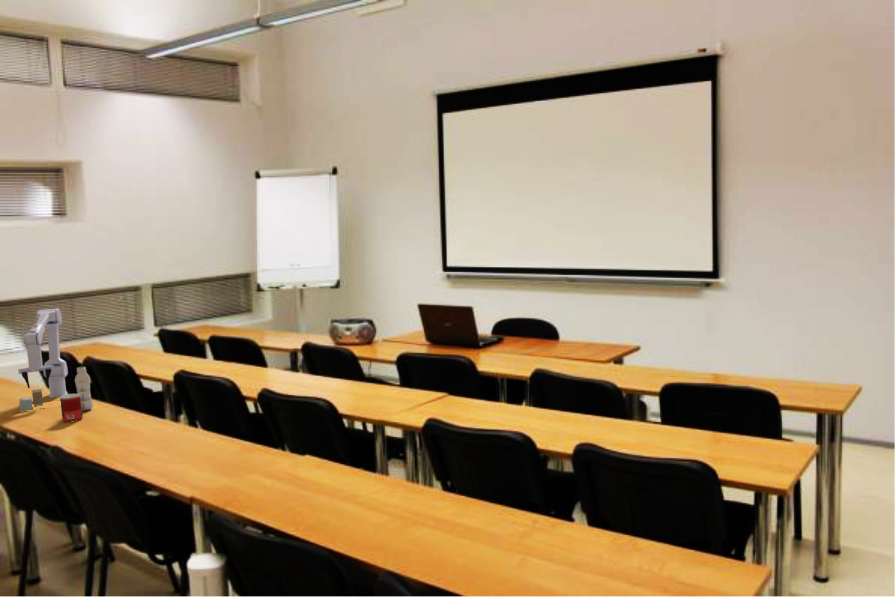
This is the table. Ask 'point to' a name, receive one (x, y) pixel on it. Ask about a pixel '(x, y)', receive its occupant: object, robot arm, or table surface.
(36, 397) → the walnut block
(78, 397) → the canned food
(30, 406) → the gray block
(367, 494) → the table surface
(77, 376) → the plastic bottle
